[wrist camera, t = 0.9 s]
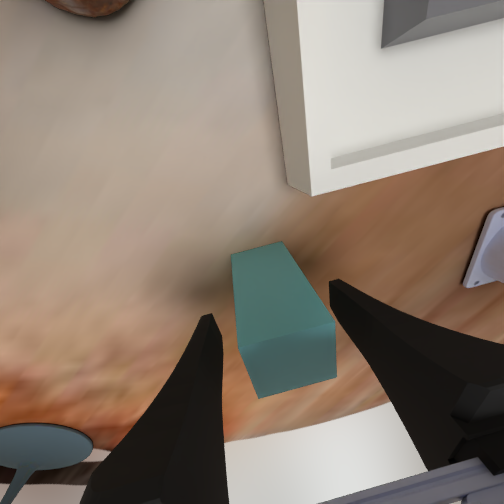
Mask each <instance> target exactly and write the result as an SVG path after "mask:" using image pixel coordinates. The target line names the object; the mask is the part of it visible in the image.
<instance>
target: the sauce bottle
mask: <svg viewBox="0 0 504 504" xmlns="http://www.w3.org/2000/svg"><path fill="white" fill-rule="evenodd" d="M45 1H47V2H49V3H50V4H52V5H53V6H55V7H56V8H59V9H62V10H66V11H68V12H70V13H73V14H75V15H84V16H87V17H94V18H95V17H97V16H102V15H105V16H106V15H109V14H111V13H113V12H115V11H117V10H119V9H120V8H121V7H123V6H124V5H125V4H127V3H128V2H129V0H45Z"/></svg>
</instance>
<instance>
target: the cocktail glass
mask: <svg viewBox="0 0 504 504" xmlns="http://www.w3.org/2000/svg"><path fill="white" fill-rule="evenodd" d="M92 450H93V444H92V441H91V440H90V438H89V437H88V436H86V435H85V434H83V433H82V432H79V431H77V430H75V429H72V428H69V427H65V426H60V425H54V424H44V423H26V424H16V425H10V426H5V427H2V428H0V465H1V466H5V467H9V468H15V469H17V471H16V474H15V476H14V478H13V480H12V482H11V484H10V486H9V488H8V489H7V491H6V494H5V495H4V497H3V499H2V500H1V502H0V504H11V503H12V501H13V500H14V498H15V497H16V495H17V494H18V493H19V491H20V490H21V488H22V487H23V486H24V484H25V483H26V481H27V480H28V479H29V477H30V476H31V475H32V474H33V473H34V471H36V470H49V469H57V468H63V467H67V466H71V465H74V464H77V463H79V462H81V461H83V460H84V459H86V458H87V457H88V456H89V455H90V454H91V452H92Z"/></svg>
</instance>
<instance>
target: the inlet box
mask: <svg viewBox="0 0 504 504" xmlns="http://www.w3.org/2000/svg"><path fill="white" fill-rule="evenodd" d="M263 2H264V9H265V17H266V24H267V32H268V40H269V47H270V55H271V62H272V70H273V78H274V85H275V93H276V100H277V108H278V116H279V123H280V131H281V138H282V146H283V154H284V161H285V169H286V176H287V184H288V185H290V186H292V187H294V188H296V189H298V190H300V191H302V192H304V193H306V194H308V195H310V196H316V195H319V194H323V193H327V192H331V191H335V190H338V189H342V188H346V187H350V186H354V185H358V184H361V183H365V182H369V181H373V180H377V179H381V178H384V177H388V176H392V175H396V174H400V173H404V172H407V171H411V170H415V169H419V168H423V167H427V166H430V165H434V164H438V163H442V162H446V161H450V160H453V159H457V158H461V157H465V156H469V155H472V154H476V153H480V152H484V151H488V150H492V149H495V148H499V147H503V146H504V0H263Z"/></svg>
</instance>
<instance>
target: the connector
mask: <svg viewBox="0 0 504 504" xmlns="http://www.w3.org/2000/svg"><path fill="white" fill-rule="evenodd" d="M231 263H232V276H233V289H234V302H235V315H236V328H237V341H238V349H239V352H240V354H241V356H242V359H243V361H244V364H245V366H246V369H247V371H248V374H249V376H250V379H251V381H252V384H253V386H254V389H255V391H256V394H257V396H258V399H260V398H263V397H267V396H271V395H274V394H278V393H282V392H285V391H289V390H292V389H296V388H300V387H303V386H307V385H311V384H314V383H318V382H322V381H325V380H329V379H333V378H336V377H337V368H336V335H335V321H334V319H333V318H332V316H331V315H330V313H329V312H328V310H327V309H326V307H325V306H324V304H323V303H322V301H321V300H320V298H319V297H318V295H317V293H316V292H315V290H314V289H313V287H312V286H311V284H310V283H309V281H308V280H307V278H306V277H305V275H304V274H303V272H302V271H301V269H300V268H299V266H298V265H297V263H296V262H295V260H294V259H293V257H292V256H291V254H290V253H289V251H288V250H287V248H286V247H285V245H284V244H283V242H282V241H281V242H277V243H273V244H269V245H265V246H262V247H258V248H254V249H250V250H247V251H243V252H239V253H235V254H231Z"/></svg>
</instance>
